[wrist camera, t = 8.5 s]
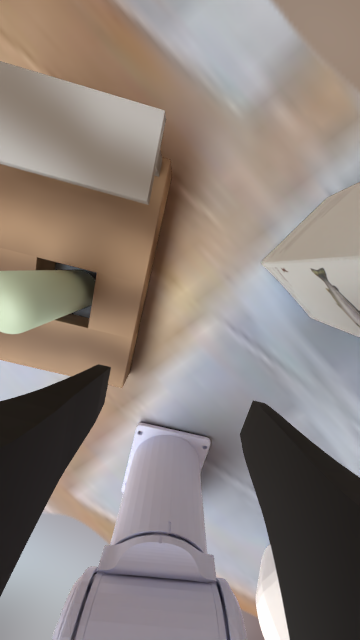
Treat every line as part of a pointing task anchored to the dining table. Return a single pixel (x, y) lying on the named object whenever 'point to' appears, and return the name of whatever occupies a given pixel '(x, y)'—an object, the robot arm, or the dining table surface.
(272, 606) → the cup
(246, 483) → the dining table surface
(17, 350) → the socket board
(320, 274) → the supplement box
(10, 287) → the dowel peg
